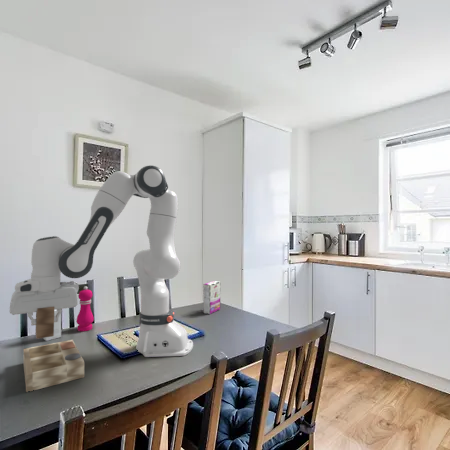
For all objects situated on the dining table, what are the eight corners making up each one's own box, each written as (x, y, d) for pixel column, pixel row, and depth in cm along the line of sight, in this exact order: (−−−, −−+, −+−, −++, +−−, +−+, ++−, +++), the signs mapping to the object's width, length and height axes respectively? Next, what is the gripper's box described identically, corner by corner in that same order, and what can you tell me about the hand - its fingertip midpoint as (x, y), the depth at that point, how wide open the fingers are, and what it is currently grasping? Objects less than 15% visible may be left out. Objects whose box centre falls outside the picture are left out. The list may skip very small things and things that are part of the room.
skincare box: (57, 334, 131) (57, 307, 131) (61, 337, 129) (62, 309, 129) (41, 338, 127) (42, 310, 127) (45, 341, 124) (46, 312, 124)
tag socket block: (72, 352, 114) (72, 338, 114) (84, 377, 96) (84, 360, 96) (23, 363, 105) (23, 348, 105) (26, 392, 87) (26, 374, 87)
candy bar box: (213, 308, 177) (213, 280, 177) (220, 309, 174) (221, 281, 174) (202, 313, 167) (202, 283, 167) (210, 314, 165) (210, 284, 165)
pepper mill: (86, 332, 135) (87, 288, 135) (72, 331, 136) (73, 287, 136) (96, 327, 142) (97, 285, 142) (83, 325, 143) (83, 284, 143)
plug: (51, 331, 107) (52, 300, 107) (53, 335, 103) (54, 304, 103) (35, 334, 104) (36, 302, 104) (36, 338, 100) (37, 306, 100)
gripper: (77, 279, 112) (76, 316, 112) (10, 284, 100) (9, 325, 100) (80, 282, 107) (79, 320, 107) (10, 287, 95) (9, 331, 95)
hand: (44, 323), depth 104 cm, fingers closed on plug, 5 cm apart
